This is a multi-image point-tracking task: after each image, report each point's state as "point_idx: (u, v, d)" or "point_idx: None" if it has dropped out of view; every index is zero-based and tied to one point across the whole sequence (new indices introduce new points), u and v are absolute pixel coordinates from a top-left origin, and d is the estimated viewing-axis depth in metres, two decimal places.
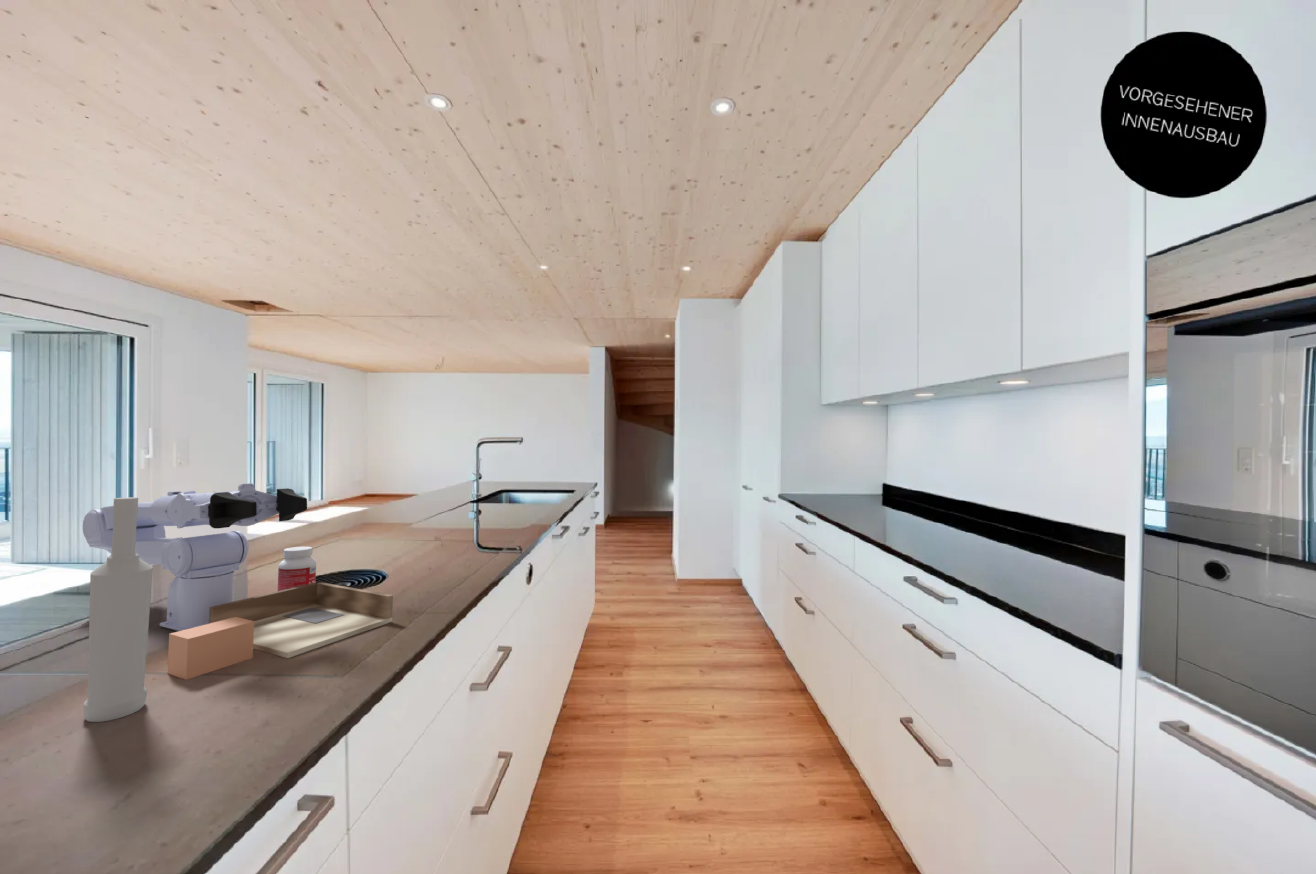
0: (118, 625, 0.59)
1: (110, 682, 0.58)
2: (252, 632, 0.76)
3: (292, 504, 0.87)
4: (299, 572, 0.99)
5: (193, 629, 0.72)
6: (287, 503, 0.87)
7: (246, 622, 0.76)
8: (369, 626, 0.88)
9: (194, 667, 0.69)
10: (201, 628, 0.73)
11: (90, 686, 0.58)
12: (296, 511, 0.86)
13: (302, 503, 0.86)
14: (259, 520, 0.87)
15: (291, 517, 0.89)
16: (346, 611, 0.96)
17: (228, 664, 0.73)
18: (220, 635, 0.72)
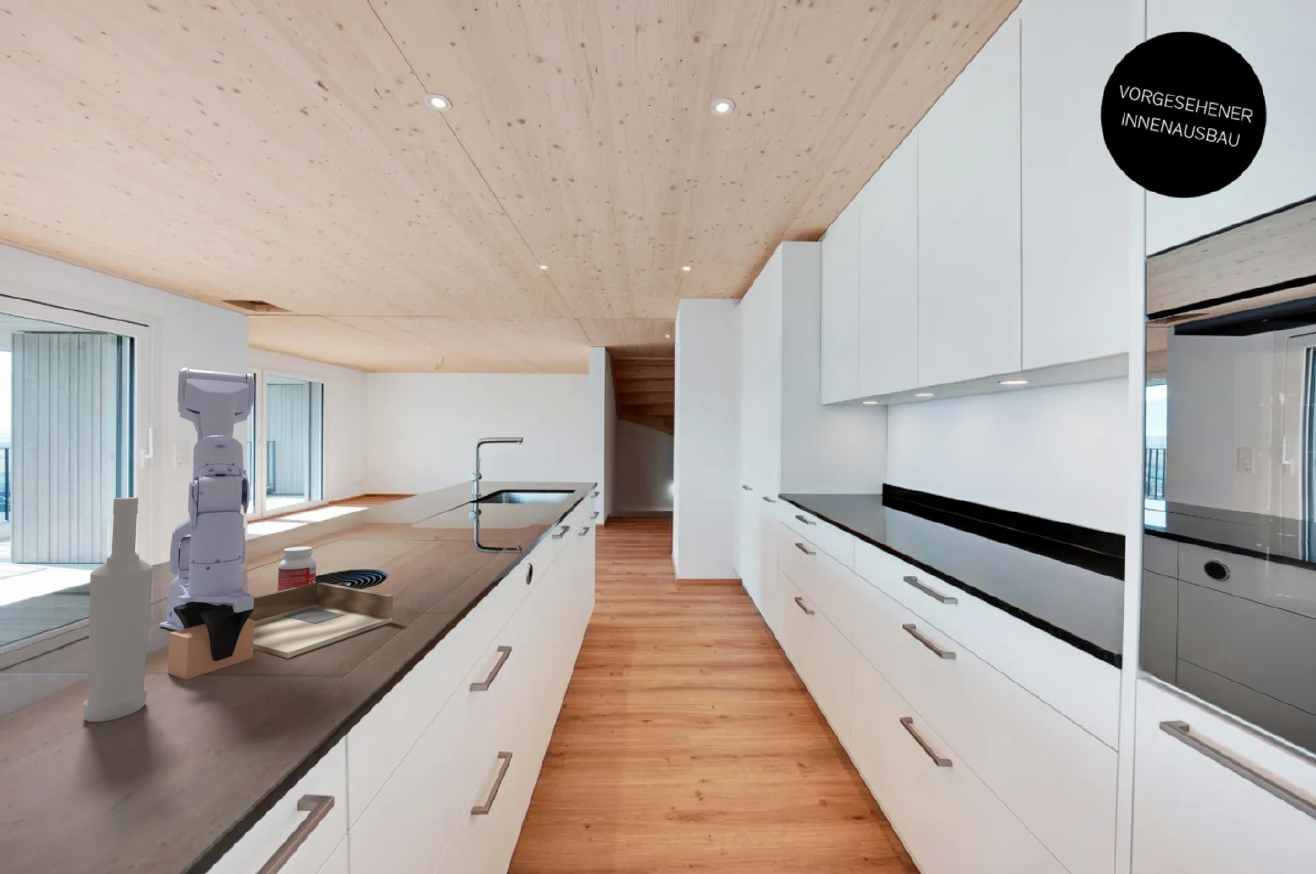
0: (118, 625, 0.59)
1: (110, 682, 0.58)
2: (252, 631, 0.76)
3: None
4: (299, 572, 0.99)
5: (193, 628, 0.72)
6: None
7: (246, 621, 0.76)
8: (369, 626, 0.88)
9: (194, 666, 0.69)
10: (201, 627, 0.73)
11: (90, 686, 0.58)
12: None
13: None
14: None
15: None
16: (346, 611, 0.96)
17: (228, 663, 0.73)
18: None
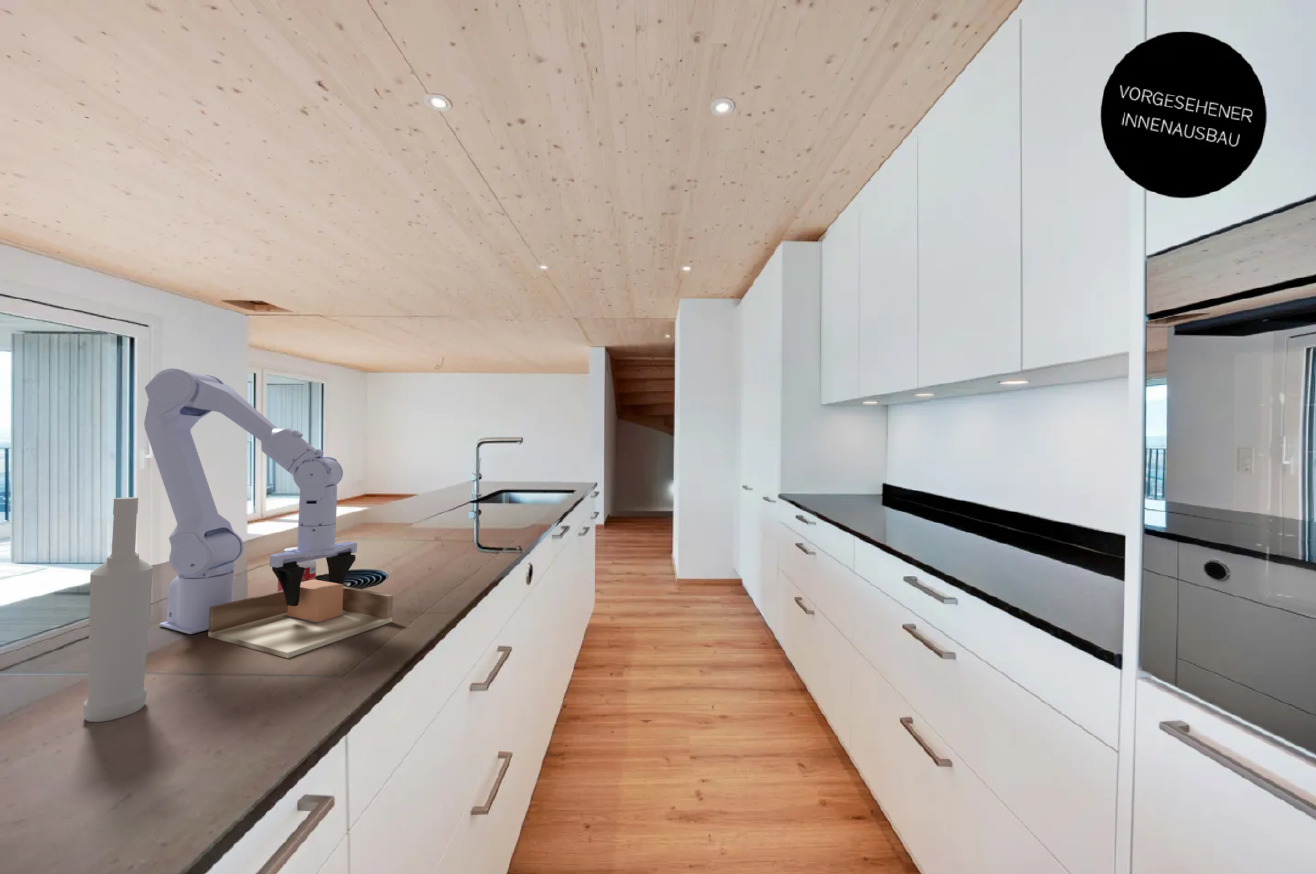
0: (118, 625, 0.59)
1: (110, 682, 0.58)
2: None
3: (334, 578, 0.96)
4: None
5: (315, 587, 0.91)
6: (335, 571, 0.96)
7: (314, 580, 0.95)
8: (369, 626, 0.88)
9: None
10: (315, 586, 0.91)
11: (90, 686, 0.58)
12: None
13: None
14: None
15: None
16: (346, 611, 0.96)
17: None
18: None
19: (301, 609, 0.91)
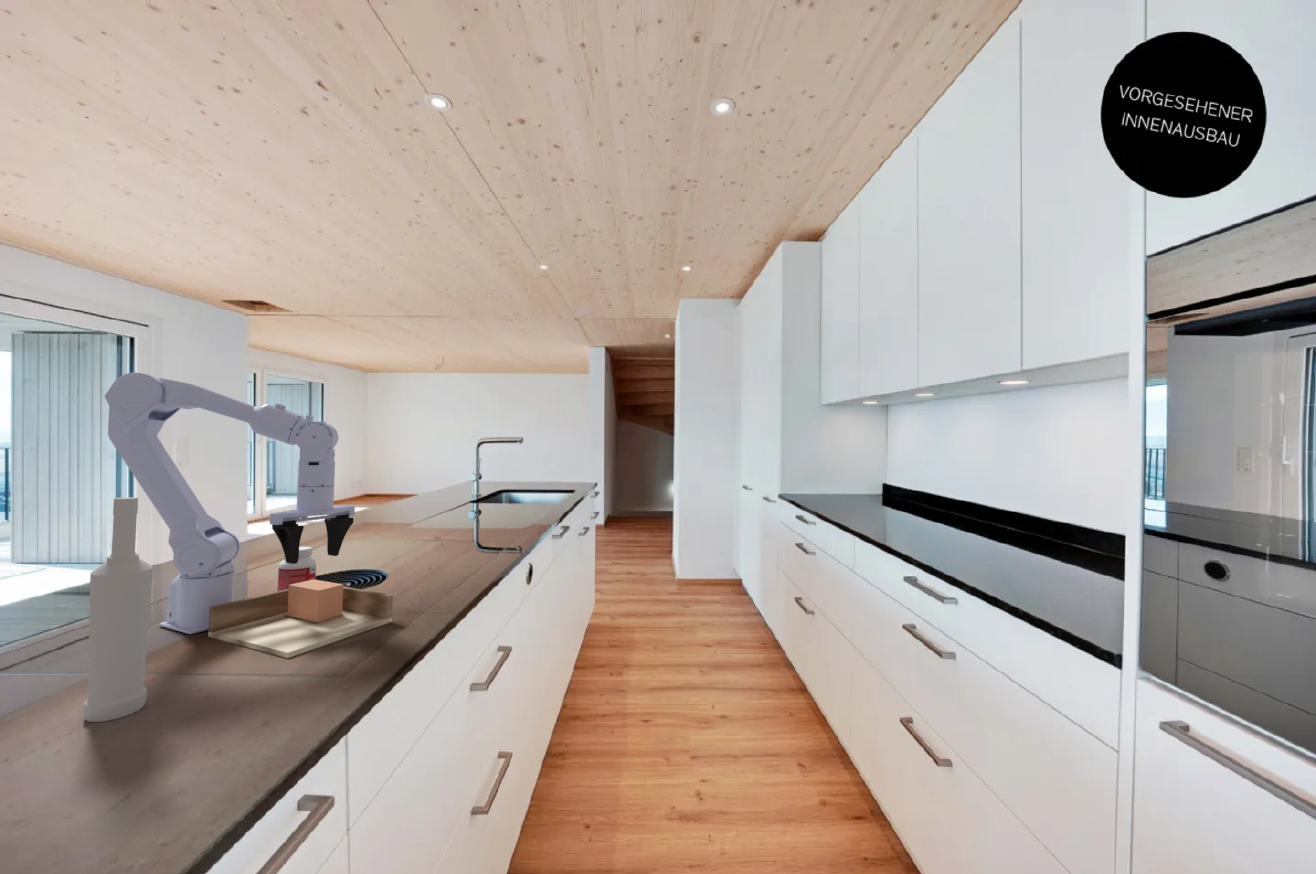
0: (118, 625, 0.59)
1: (110, 682, 0.58)
2: None
3: (333, 540, 0.99)
4: (299, 572, 0.99)
5: (315, 587, 0.91)
6: (334, 533, 0.99)
7: (314, 580, 0.95)
8: (369, 626, 0.88)
9: None
10: (315, 586, 0.91)
11: (90, 686, 0.58)
12: (328, 545, 0.99)
13: (332, 554, 0.99)
14: None
15: None
16: (346, 611, 0.96)
17: None
18: None
19: (301, 609, 0.91)
